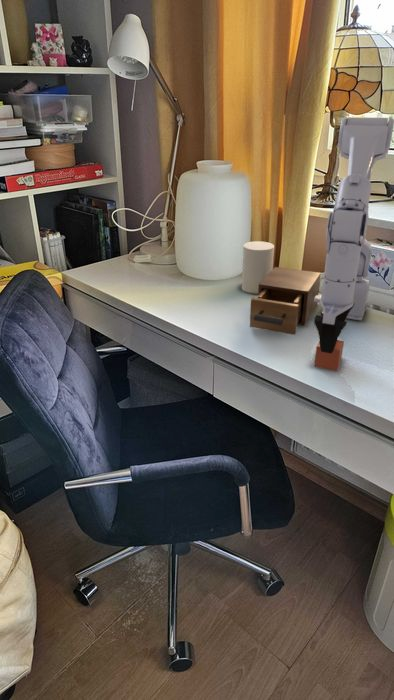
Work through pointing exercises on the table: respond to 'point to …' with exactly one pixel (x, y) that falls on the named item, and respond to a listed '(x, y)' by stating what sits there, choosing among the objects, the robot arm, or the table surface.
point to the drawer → (277, 311)
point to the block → (329, 357)
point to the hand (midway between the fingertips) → (330, 343)
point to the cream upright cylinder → (256, 264)
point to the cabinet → (294, 286)
